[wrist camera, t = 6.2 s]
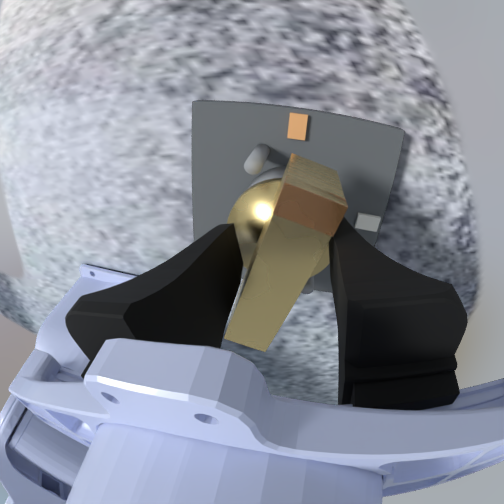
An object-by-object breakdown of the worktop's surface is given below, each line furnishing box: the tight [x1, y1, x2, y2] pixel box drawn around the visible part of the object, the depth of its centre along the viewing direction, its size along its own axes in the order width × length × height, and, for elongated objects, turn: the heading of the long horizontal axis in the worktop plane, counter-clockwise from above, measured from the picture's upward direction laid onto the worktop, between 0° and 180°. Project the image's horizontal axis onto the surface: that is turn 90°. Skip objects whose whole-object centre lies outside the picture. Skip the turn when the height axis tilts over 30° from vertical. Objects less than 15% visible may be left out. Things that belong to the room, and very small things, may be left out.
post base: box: [192, 100, 405, 294], centre depth 14 cm, size 10×10×3 cm
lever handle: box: [224, 153, 348, 352], centre depth 11 cm, size 7×5×4 cm
